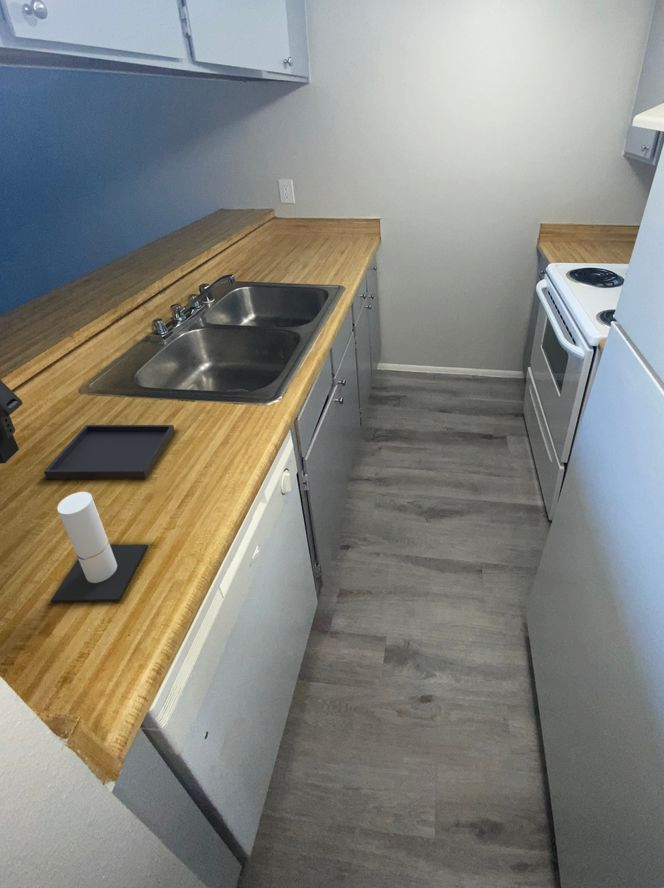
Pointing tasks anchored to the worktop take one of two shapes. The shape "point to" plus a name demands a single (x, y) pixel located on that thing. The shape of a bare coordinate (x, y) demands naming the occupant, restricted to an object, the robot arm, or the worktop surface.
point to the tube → (87, 536)
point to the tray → (111, 452)
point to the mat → (107, 590)
